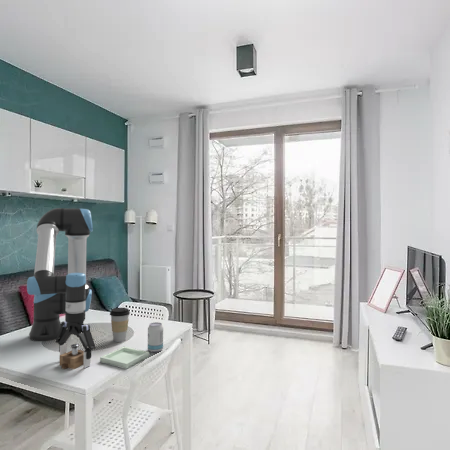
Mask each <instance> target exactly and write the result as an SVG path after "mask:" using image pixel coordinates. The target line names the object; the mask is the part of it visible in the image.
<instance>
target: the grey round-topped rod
mask: <svg viewBox="0 0 450 450" xmlns="http://www.w3.org/2000/svg"><path fill="white" fill-rule="evenodd" d="M79 345H80V344H78V343H72V344H71V345H70V348H71V351H72V356H73V357H75V356H77V355H78V350H79Z"/></svg>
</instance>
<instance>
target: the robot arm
mask: <svg viewBox="0 0 450 450" xmlns="http://www.w3.org/2000/svg"><path fill="white" fill-rule="evenodd" d="M93 227H94V226H93V220H92V212H91V210H89V209H88V208H81V207H80V208H67V207H65V208H61V207H58V208H57V207H55V208H53V209H49V210H48V211H47V212H45V213H44V214H42V216H41V217H40V219H39V220H38V222H37V225H36V233H37V243H36V254H35V255H36V256H35V263H34V264H35V265H34V272H33V276H29V277H28V278H27V281H26V291H27V294H28V295H30V296H33V322H32V326H31V329H30V331H29V334H28V335H29V336H28V339H29V340H30V341H34V342H35V341H36V342H45V341H50V340H51V341H52V340H55V341H54V342H55V343H56V344H58V345H59V347H58V352H59V356H60V355H62V354H64V353H67V352H68V351H67V349H68V348H67V347H68V345H67V344H68V343H67V341H68V339H69V338H70V336H71V335H74V336H76V337H77V338H78V340H79V341H80V343H81V344H82V347H83V348H84V350H83V351H84V365H83V368H84V369H85V368H87V367H90V366H91V359H92V350H96V347H97V346H96V344H95V342H94V340H95V339H94V338H93V337H94V336H93V335H92V331H91V325H90V324H84V322H85V320H86V313H88V312H89V310H90V307H91V302H92V294H93V291H92V289H90V286H89V285H88V284H87V242H88V241H87V239H88V238H89V236H90V235H91V233H92V232H93V231H94V230H93V229H94V228H93ZM60 232H64V235H65V237H67V239H68V241H67V242H68V243H67V244H68V245H67V247H68V248H67V274H65V275H54V274H55V261H56V260H55V259H56V247H57V246H56V245H57V236H58V235H59V233H60ZM60 315H65V316H64V318H65V319H64V321H61V319H60Z"/></svg>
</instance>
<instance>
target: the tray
mask: <svg viewBox="0 0 450 450" xmlns="http://www.w3.org/2000/svg"><path fill="white" fill-rule="evenodd" d="M148 358H150V351H146V350H142V349H137V348H133V347H129V346H122V347H119V348H117V349H116V350H112V351H111V352H108V353H107V354H105V355H102V356H100V357H99V363H101V364H106V365H109V366H114V367H117V368H122V369H126V370H127V369H129V368H131V367H133V366H135V365H136V364H138V363H141V362H142V361H145V360H146V359H148Z"/></svg>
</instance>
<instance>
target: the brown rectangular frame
mask: <svg viewBox="0 0 450 450" xmlns="http://www.w3.org/2000/svg"><path fill="white" fill-rule="evenodd" d="M84 351H85V350H82V349H78V355H77V356H75V357H73V356H72V350H70V351H67V353H64V354H62V355H60V354H59V363H58V364H59V366H61V369H62V370H66V369H71V370H75V369H77V368H79V367H82V366H84Z"/></svg>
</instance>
